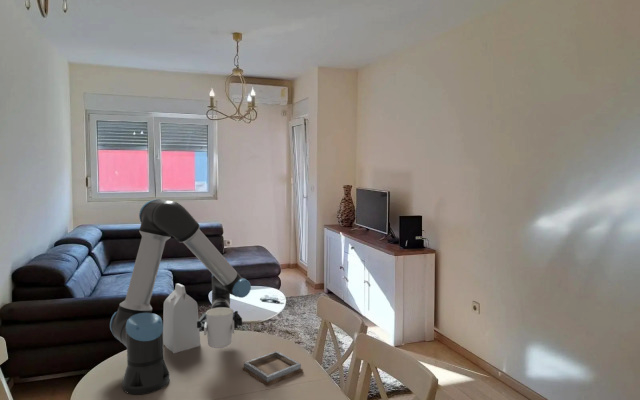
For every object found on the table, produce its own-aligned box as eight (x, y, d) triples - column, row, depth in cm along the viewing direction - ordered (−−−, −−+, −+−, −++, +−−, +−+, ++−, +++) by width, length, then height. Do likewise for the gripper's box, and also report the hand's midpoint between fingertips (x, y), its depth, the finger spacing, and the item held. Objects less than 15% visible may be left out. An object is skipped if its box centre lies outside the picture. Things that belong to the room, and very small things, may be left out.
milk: (200, 345, 179) (199, 285, 177) (174, 353, 171) (172, 290, 169) (188, 337, 188) (187, 279, 186) (162, 344, 180) (161, 284, 178)
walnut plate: (267, 386, 145) (267, 383, 145) (242, 370, 157) (242, 367, 157) (302, 371, 156) (302, 368, 156) (277, 357, 168) (276, 354, 167)
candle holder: (230, 349, 149) (230, 316, 149) (202, 348, 150) (202, 315, 149) (236, 338, 159) (236, 307, 158) (210, 338, 159) (210, 307, 159)
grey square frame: (267, 382, 146) (267, 377, 146) (244, 367, 157) (243, 362, 157) (300, 368, 156) (300, 363, 156) (276, 355, 167) (276, 350, 167)
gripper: (247, 317, 174) (250, 338, 152) (192, 321, 169) (187, 343, 147) (247, 299, 174) (250, 318, 152) (192, 302, 169) (187, 322, 147)
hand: (219, 330), depth 150 cm, fingers closed on candle holder, 9 cm apart
